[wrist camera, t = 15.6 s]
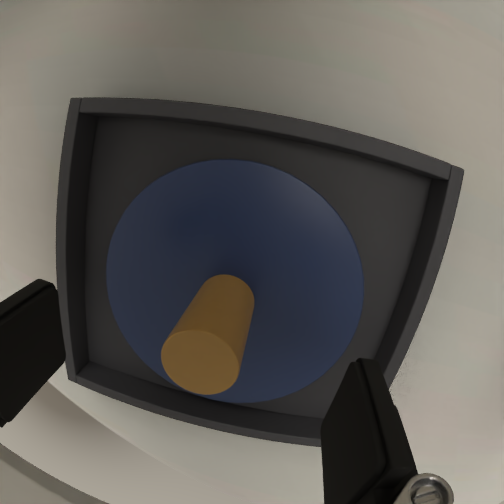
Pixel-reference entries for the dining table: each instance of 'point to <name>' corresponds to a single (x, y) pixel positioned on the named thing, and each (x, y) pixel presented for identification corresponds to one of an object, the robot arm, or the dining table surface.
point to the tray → (266, 152)
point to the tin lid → (234, 280)
